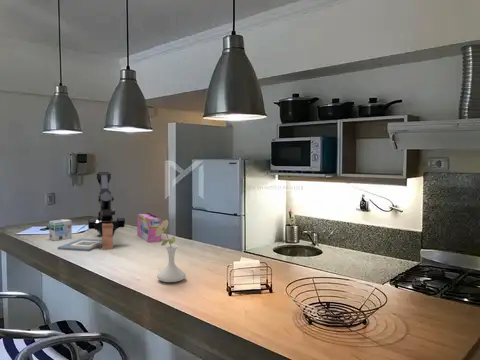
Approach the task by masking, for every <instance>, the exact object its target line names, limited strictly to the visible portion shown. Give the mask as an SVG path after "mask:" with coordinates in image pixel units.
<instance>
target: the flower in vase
mask: <svg viewBox="0 0 480 360" xmlns="http://www.w3.org/2000/svg"><path fill="white" fill-rule="evenodd" d="M168 225H169V221H168V219H165V220H162V221H161V226H160V225H159V226H158V229H157V231H156V232H155V233H156V234H155V236H157V237H158V236H160V235H161V236H162V234H164V233H165V236H166V239H164V240H163V241H161V245H160V246H165V249H166V250H167V255H168V263H167V265H166V266H165V267H164V268H163V269H162V270H160V271H159V273H158V274H157V277H156V278H157V280H159V281H161V282H164V283H177V282H180V281H183V280H184V279H185V278H186V277H187V276H186V272H185V271H183V270H182V268H179V267H178V266H177V264H176V262H175V256H176V255H175V254H176V250H177V249H178V247H179V246H178V245H177V244H176V245H175V244H174V243H175V242H176V237H175V236H173V237H171V238H170V239H169V235H168V233H167V228H168ZM167 243H168V244H167Z"/></svg>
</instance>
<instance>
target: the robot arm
mask: <svg viewBox="0 0 480 360" xmlns="http://www.w3.org/2000/svg"><path fill="white" fill-rule="evenodd" d="M95 176H96V177H95V178H96V180H97V184H98V186H100V189H99V190H100V191H99V195H98V196H97V197H98V198H97V201H98V202H97V203H99V204H100V206H99V208H100V210H99V211H98V213H97V214H98V215H97V216H96V218H89V219H88V220H87V228H88V230H92V229H93V230H95V231H97V232H98V235H96V236H97V237H101V238H102V223H112V224H113V237H114V235H115V233H116V231H117V229H119V228H124V227H125V224H126V221H125V219H126V218H125V217H116V220H114V218H113V216H116V208H112V202H113V201H115V197H113V195H112V192H111V191H110V189H109V184H110V182H111V181H110V180H112V173H111V172H110V173H109V171H98V173H96V175H95Z"/></svg>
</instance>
